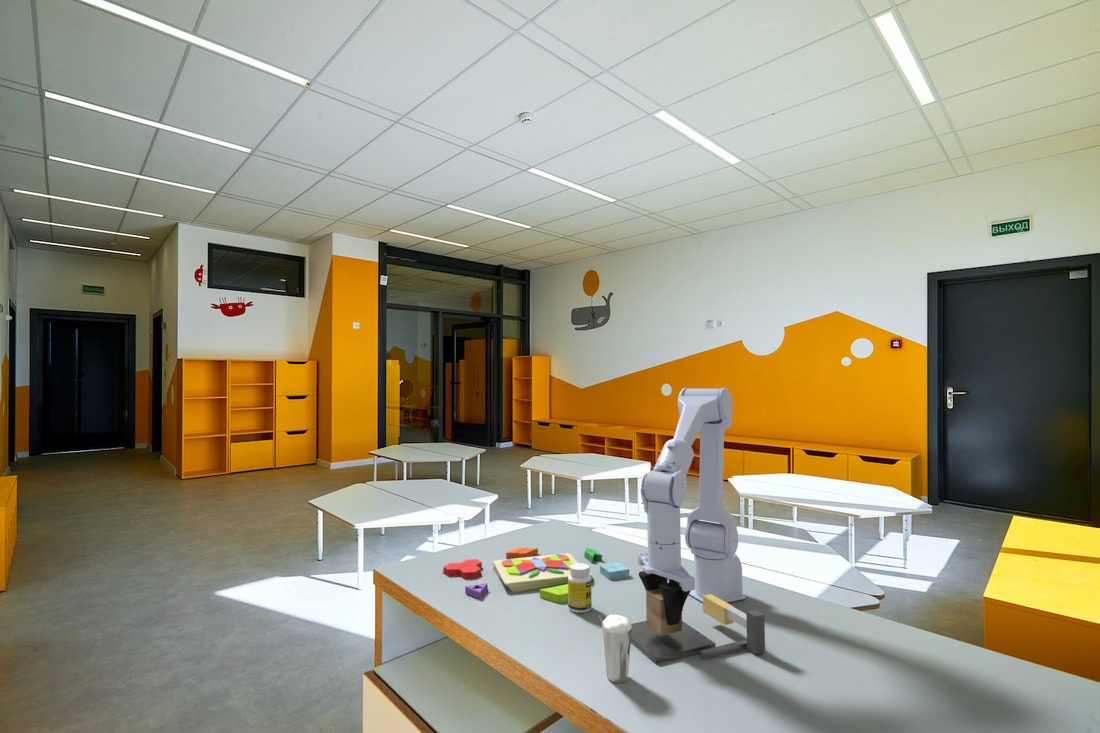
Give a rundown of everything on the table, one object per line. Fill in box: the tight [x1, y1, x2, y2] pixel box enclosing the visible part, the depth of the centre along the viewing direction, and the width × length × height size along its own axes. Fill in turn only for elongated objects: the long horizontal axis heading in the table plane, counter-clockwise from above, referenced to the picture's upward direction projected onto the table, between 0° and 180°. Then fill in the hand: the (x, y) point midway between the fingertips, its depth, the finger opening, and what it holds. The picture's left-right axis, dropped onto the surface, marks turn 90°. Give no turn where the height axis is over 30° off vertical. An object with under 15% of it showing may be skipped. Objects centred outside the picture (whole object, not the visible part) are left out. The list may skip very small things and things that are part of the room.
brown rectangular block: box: [645, 588, 684, 635], centre depth 95 cm, size 6×4×6 cm
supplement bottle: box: [567, 562, 593, 614], centre depth 108 cm, size 5×5×8 cm
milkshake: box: [598, 614, 633, 684], centre depth 83 cm, size 4×5×10 cm
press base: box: [630, 620, 748, 665], centre depth 95 cm, size 20×14×1 cm
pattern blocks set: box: [442, 546, 630, 604], centre depth 127 cm, size 38×34×3 cm
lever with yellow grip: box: [702, 594, 766, 655], centre depth 95 cm, size 2×14×6 cm, turn 23°
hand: (665, 617), depth 95 cm, fingers closed on brown rectangular block, 4 cm apart
